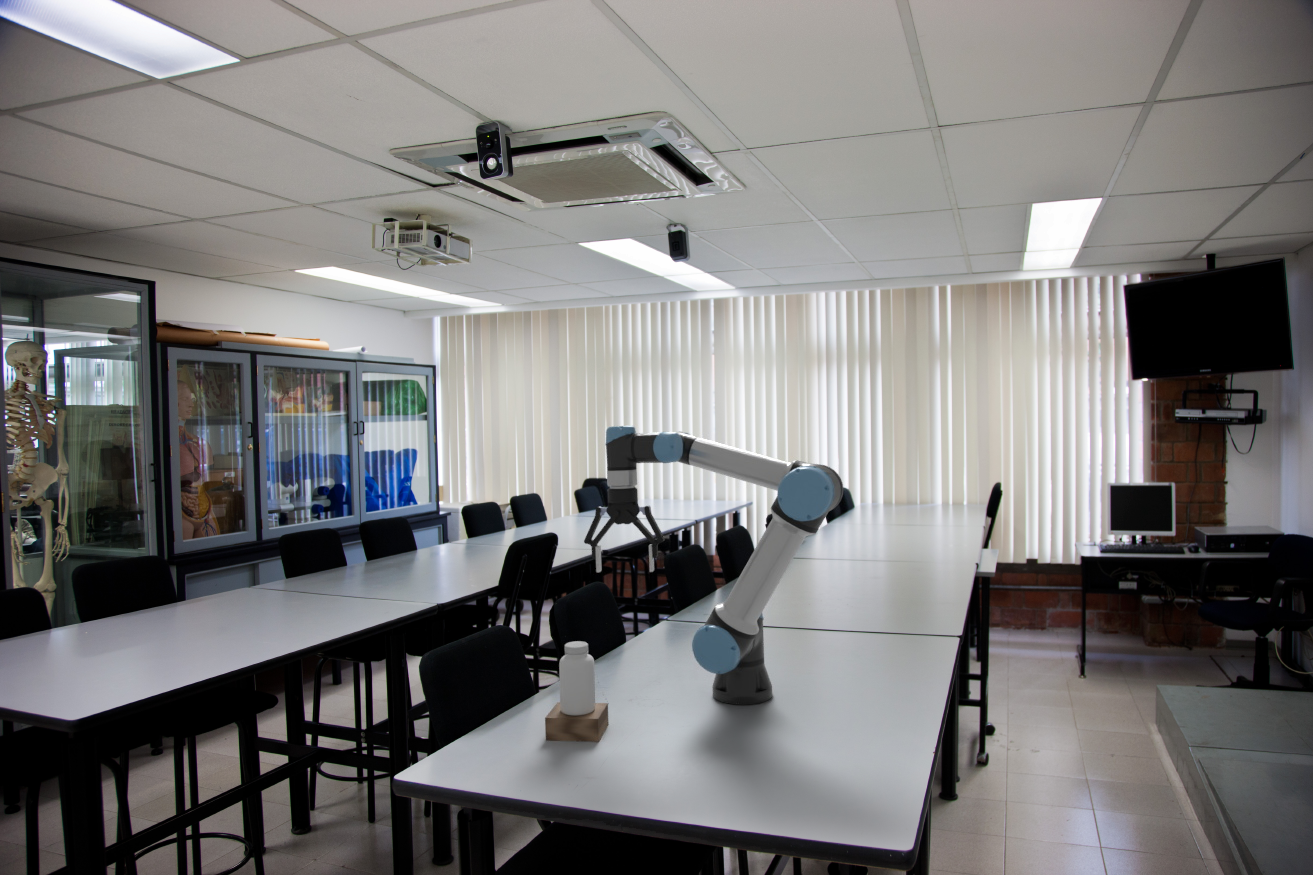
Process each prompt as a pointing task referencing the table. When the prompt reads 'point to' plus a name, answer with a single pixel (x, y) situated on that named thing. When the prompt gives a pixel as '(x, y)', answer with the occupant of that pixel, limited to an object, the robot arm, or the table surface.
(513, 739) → the table surface
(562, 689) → the pill bottle
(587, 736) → the walnut stand
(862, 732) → the table surface
